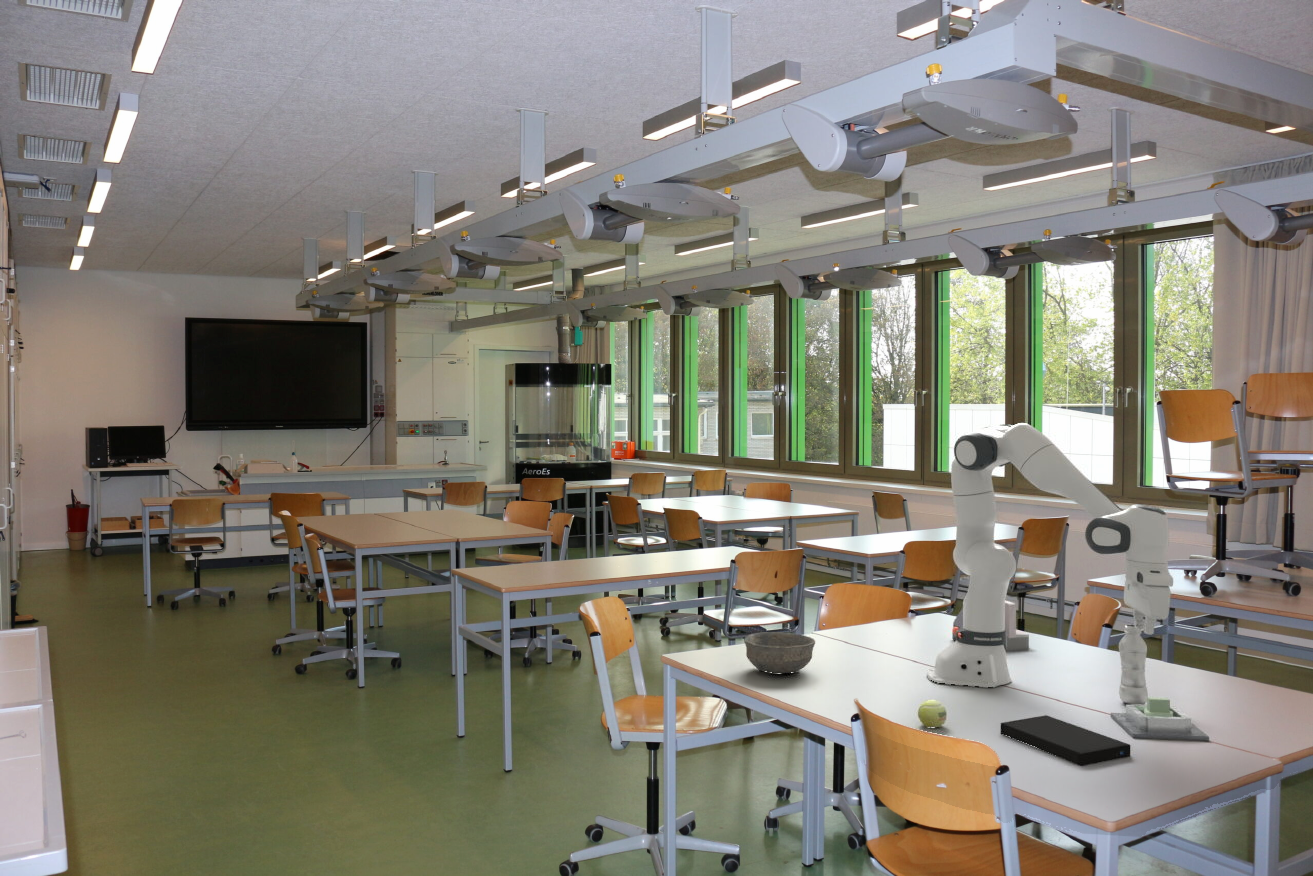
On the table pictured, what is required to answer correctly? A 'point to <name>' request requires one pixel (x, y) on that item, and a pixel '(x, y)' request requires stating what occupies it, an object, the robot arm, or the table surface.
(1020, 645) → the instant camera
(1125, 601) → the robot arm
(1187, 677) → the table surface
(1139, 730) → the cap socket
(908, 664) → the table surface
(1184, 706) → the table surface
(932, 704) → the tennis ball
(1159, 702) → the stepped sage green block
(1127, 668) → the plastic bottle
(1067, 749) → the external hard drive
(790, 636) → the bowl
